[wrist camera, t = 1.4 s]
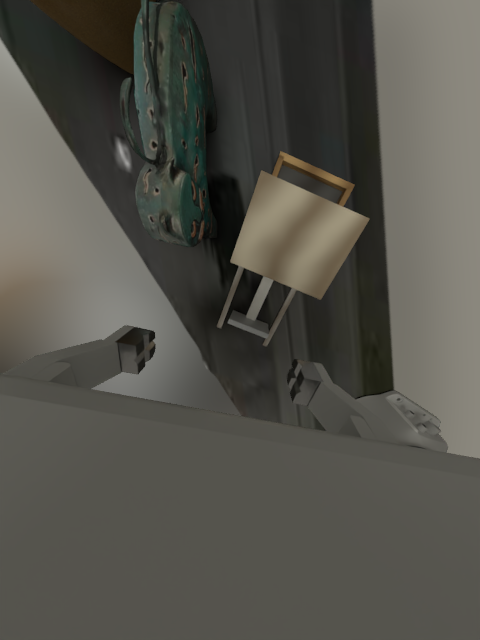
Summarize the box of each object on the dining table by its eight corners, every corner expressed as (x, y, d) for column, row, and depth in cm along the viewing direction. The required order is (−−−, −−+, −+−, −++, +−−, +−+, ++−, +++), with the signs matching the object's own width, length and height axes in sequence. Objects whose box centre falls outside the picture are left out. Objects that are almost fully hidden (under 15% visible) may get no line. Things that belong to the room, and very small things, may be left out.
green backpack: (222, 248, 32) (173, 246, 13) (189, 246, 32) (97, 240, 14) (227, 98, 24) (127, -378, 6) (183, 98, 25) (-37, -348, 6)
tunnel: (352, 189, 27) (410, 151, 16) (268, 346, 39) (272, 379, 28) (276, 155, 26) (287, 94, 16) (215, 324, 38) (199, 351, 28)
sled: (317, 229, 29) (328, 225, 24) (267, 328, 37) (268, 339, 32) (271, 209, 28) (273, 201, 24) (230, 313, 36) (226, 322, 32)
